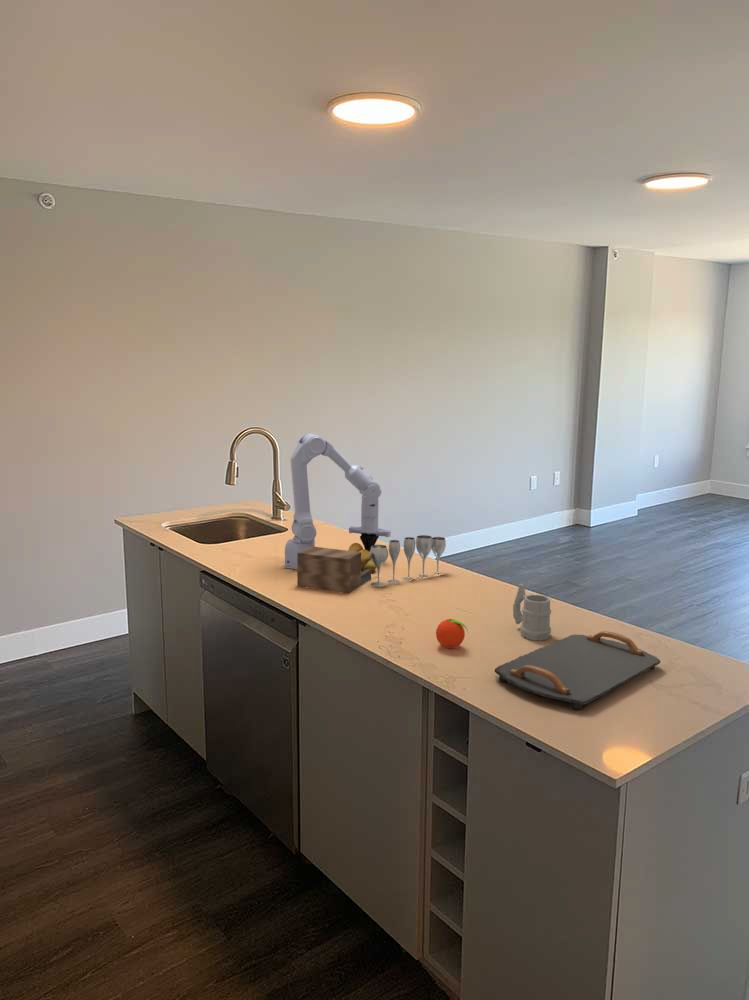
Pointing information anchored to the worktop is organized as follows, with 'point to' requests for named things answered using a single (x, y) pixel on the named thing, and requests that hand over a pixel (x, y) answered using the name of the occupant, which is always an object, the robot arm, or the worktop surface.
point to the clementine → (450, 633)
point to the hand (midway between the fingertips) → (369, 555)
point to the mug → (532, 615)
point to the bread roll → (363, 557)
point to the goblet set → (407, 553)
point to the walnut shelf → (330, 569)
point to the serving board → (578, 667)
